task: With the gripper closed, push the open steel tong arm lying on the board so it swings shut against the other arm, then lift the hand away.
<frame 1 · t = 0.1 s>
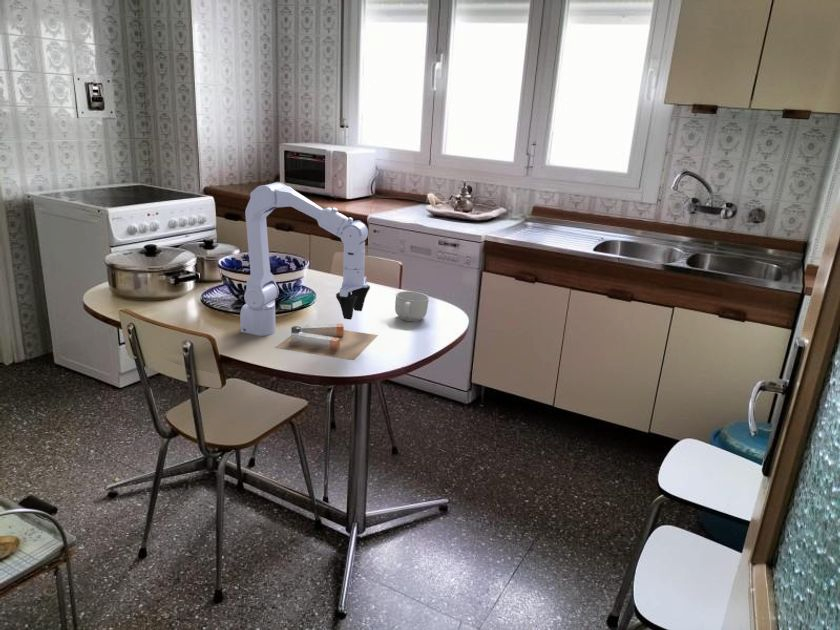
hand: (352, 314, 170), 10 cm above the table, tool pointing down, fingers open, 7 cm apart
tongs fixed half: (296, 340, 174), resting on board
tong arm: (322, 330, 177), point 3 cm above the table, hinge at 30.0°
teacup: (409, 320, 199), on the table
board: (328, 344, 175), on the table
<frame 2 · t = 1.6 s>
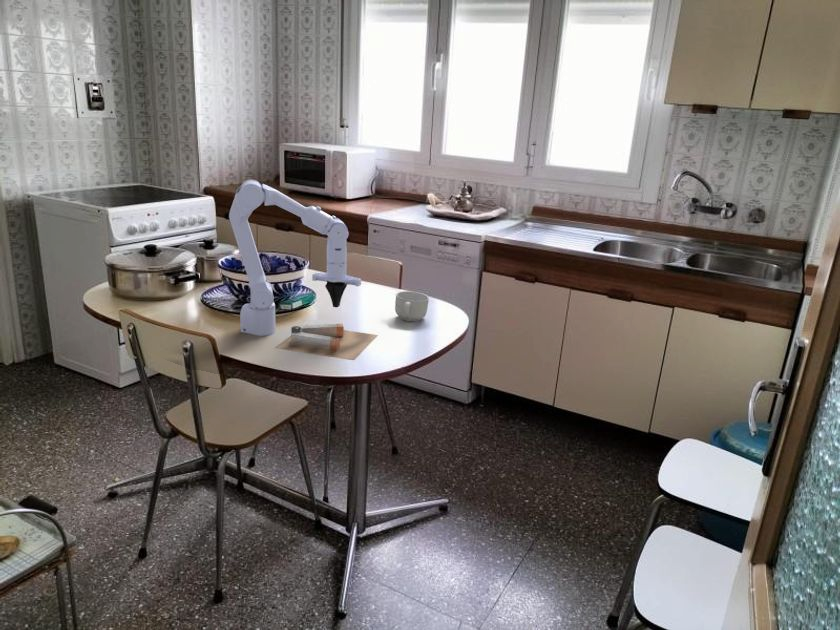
hand: (336, 306, 182), 8 cm above the table, tool pointing down, fingers closed
nothing on the table moved.
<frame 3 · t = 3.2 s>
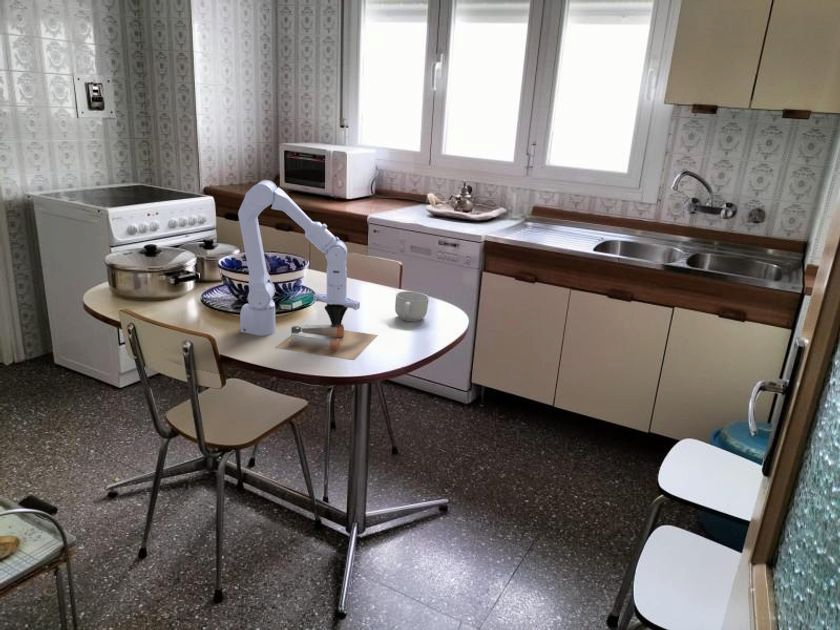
hand: (336, 328, 181), 3 cm above the table, tool pointing down, fingers closed
tong arm: (322, 331, 177), point 3 cm above the table, hinge at 27.9°, touching gripper
everything else where it was.
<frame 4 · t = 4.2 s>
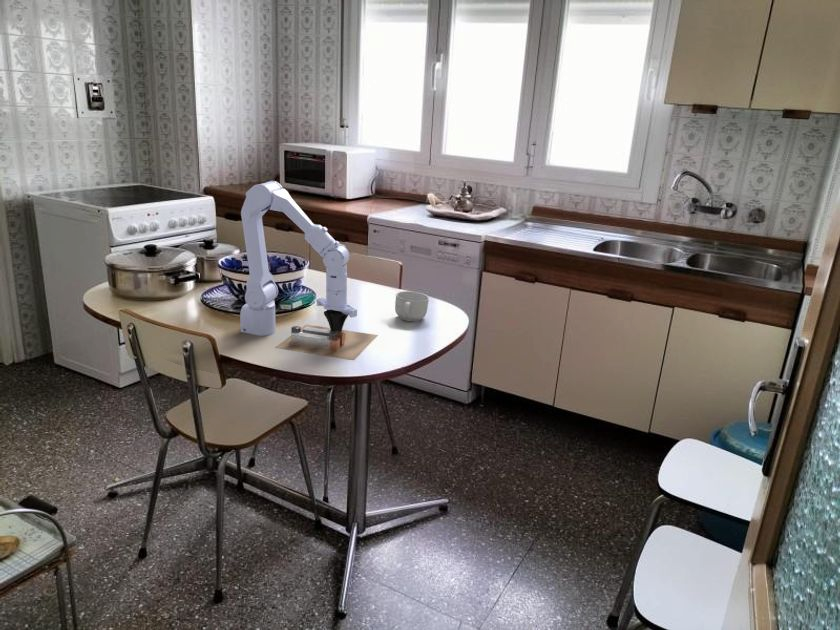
hand: (336, 334, 175), 3 cm above the table, tool pointing down, fingers closed
tong arm: (323, 335, 173), point 3 cm above the table, hinge at -0.3°, touching gripper
everything else where it was.
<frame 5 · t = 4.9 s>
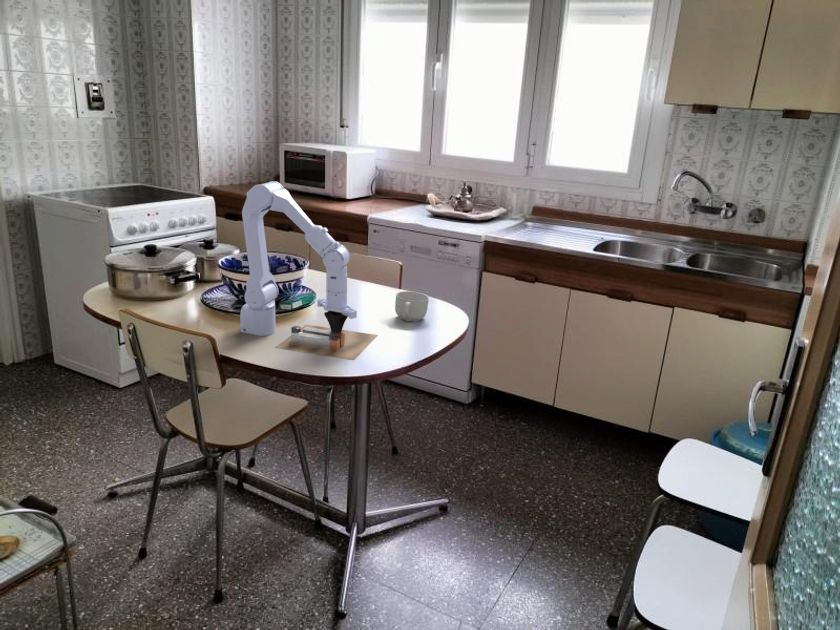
hand: (336, 335, 175), 3 cm above the table, tool pointing down, fingers closed
tong arm: (323, 336, 173), point 3 cm above the table, hinge at -3.6°, touching gripper
everything else where it was.
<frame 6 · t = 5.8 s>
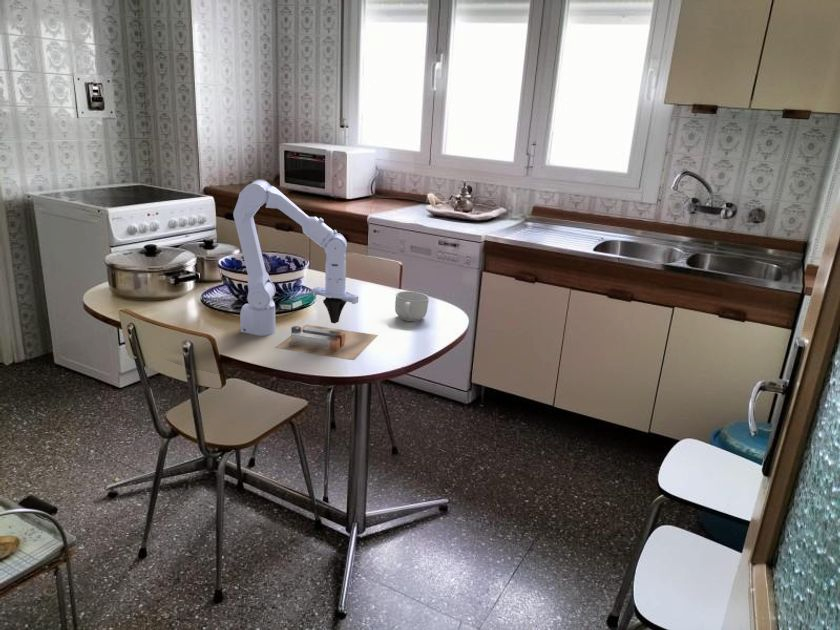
hand: (334, 322, 179), 5 cm above the table, tool pointing down, fingers closed
tong arm: (323, 336, 173), point 3 cm above the table, hinge at -1.4°
everything else where it was.
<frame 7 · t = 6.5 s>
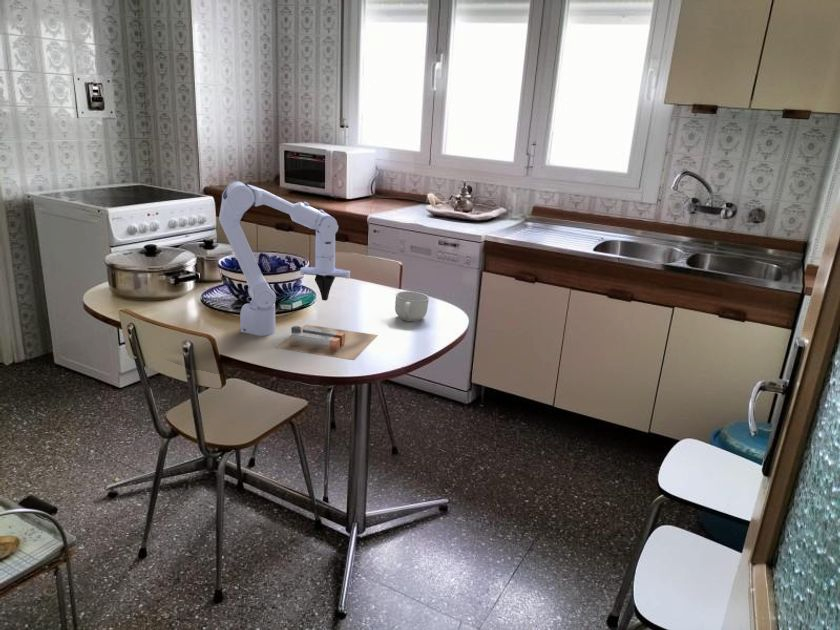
hand: (325, 299, 184), 9 cm above the table, tool pointing down, fingers closed
nothing on the table moved.
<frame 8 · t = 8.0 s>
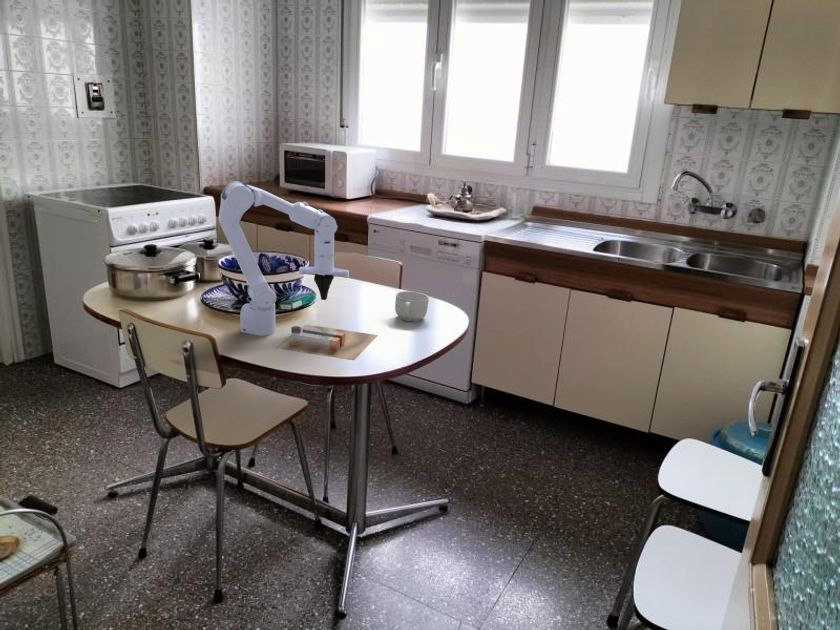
hand: (324, 298, 184), 9 cm above the table, tool pointing down, fingers closed
nothing on the table moved.
at the end: tong arm at -1° (first picture: +30°) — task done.
